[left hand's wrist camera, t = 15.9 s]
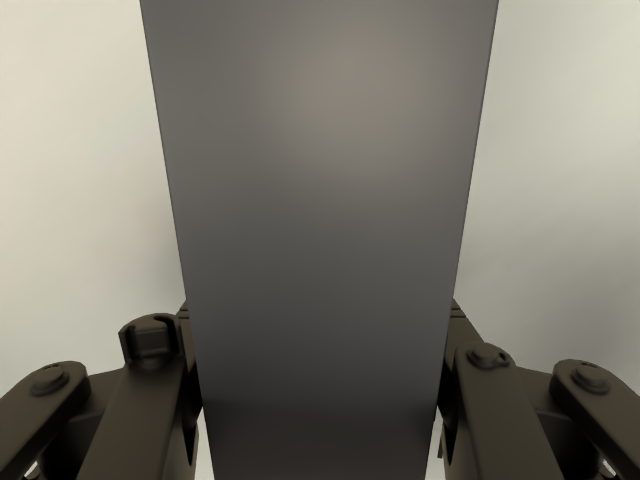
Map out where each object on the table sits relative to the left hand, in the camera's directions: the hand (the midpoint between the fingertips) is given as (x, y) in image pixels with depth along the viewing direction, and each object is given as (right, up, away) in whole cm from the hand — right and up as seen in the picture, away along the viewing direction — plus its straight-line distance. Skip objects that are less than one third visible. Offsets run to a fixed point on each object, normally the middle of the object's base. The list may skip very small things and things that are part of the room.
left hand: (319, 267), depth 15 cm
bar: (0, +10, -3) cm, 11 cm away
